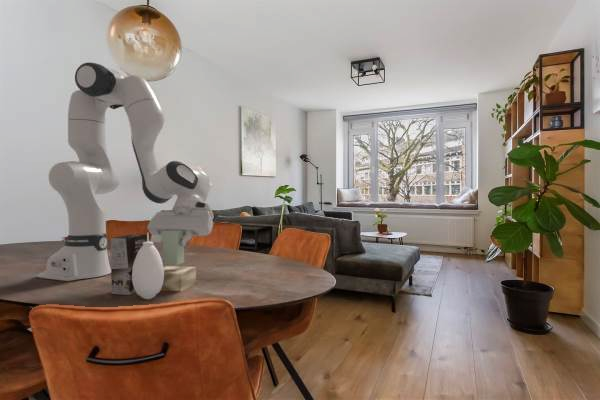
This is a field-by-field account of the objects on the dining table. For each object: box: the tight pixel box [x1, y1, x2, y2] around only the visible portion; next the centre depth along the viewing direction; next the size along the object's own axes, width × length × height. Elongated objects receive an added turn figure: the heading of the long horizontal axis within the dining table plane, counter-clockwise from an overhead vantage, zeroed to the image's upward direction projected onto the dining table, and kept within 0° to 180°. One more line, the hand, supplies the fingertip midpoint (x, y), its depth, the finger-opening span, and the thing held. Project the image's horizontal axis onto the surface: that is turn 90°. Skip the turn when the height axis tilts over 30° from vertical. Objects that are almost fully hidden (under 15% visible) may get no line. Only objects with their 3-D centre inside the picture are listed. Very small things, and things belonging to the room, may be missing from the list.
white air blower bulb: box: [132, 232, 164, 300], centre depth 94 cm, size 8×8×18 cm
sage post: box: [162, 230, 185, 266], centre depth 107 cm, size 4×4×10 cm
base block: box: [160, 265, 197, 292], centre depth 107 cm, size 10×10×5 cm
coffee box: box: [110, 233, 147, 296], centre depth 102 cm, size 9×6×16 cm
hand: (172, 244), depth 106 cm, fingers closed on sage post, 4 cm apart
